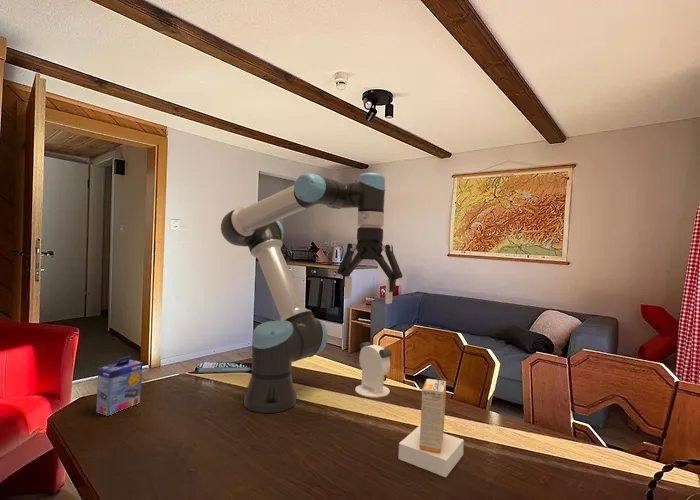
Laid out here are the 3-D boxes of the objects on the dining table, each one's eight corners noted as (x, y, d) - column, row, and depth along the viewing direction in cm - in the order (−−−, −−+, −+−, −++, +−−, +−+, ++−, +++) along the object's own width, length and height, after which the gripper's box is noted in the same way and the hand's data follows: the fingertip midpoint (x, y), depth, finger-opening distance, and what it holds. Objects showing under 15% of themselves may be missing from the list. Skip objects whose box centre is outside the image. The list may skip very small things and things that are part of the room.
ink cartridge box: (108, 417, 99) (110, 362, 99) (94, 413, 101) (96, 359, 101) (142, 403, 108) (144, 353, 108) (128, 400, 110) (130, 350, 110)
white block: (398, 461, 84) (399, 443, 84) (419, 441, 93) (419, 425, 93) (445, 479, 78) (446, 460, 78) (463, 457, 87) (463, 439, 87)
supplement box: (441, 453, 80) (444, 392, 80) (418, 449, 82) (421, 388, 82) (444, 436, 88) (446, 380, 88) (423, 432, 90) (426, 377, 90)
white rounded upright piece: (398, 393, 123) (399, 347, 123) (373, 401, 116) (375, 352, 116) (372, 382, 132) (374, 339, 132) (348, 389, 125) (349, 344, 125)
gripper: (327, 226, 112) (324, 297, 112) (404, 226, 99) (401, 307, 99) (341, 228, 119) (338, 295, 119) (415, 228, 105) (412, 304, 105)
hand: (367, 301), depth 109 cm, fingers open, 13 cm apart
